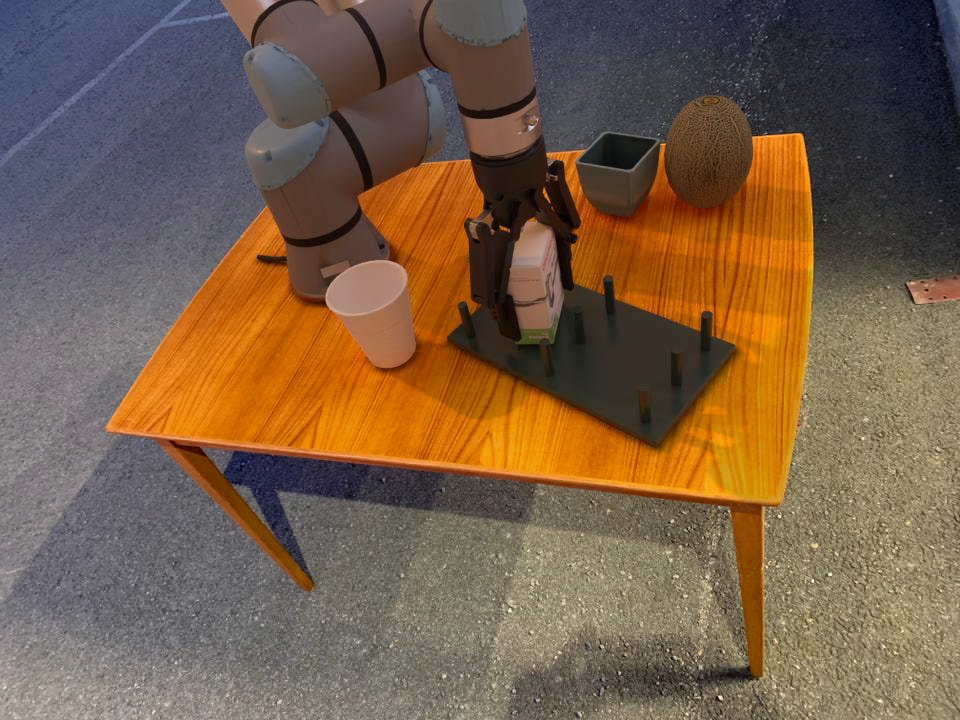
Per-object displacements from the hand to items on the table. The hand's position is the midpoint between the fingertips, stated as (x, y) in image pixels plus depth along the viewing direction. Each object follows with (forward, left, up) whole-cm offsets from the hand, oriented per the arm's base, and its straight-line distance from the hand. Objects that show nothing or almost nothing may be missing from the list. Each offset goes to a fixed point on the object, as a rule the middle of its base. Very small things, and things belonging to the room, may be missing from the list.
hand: (538, 310), depth 84 cm
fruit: (+4, +32, -3) cm, 32 cm away
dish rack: (+6, 0, -3) cm, 7 cm away
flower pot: (-6, +26, -3) cm, 27 cm away
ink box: (0, 0, -2) cm, 2 cm away
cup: (-14, -13, -3) cm, 19 cm away
